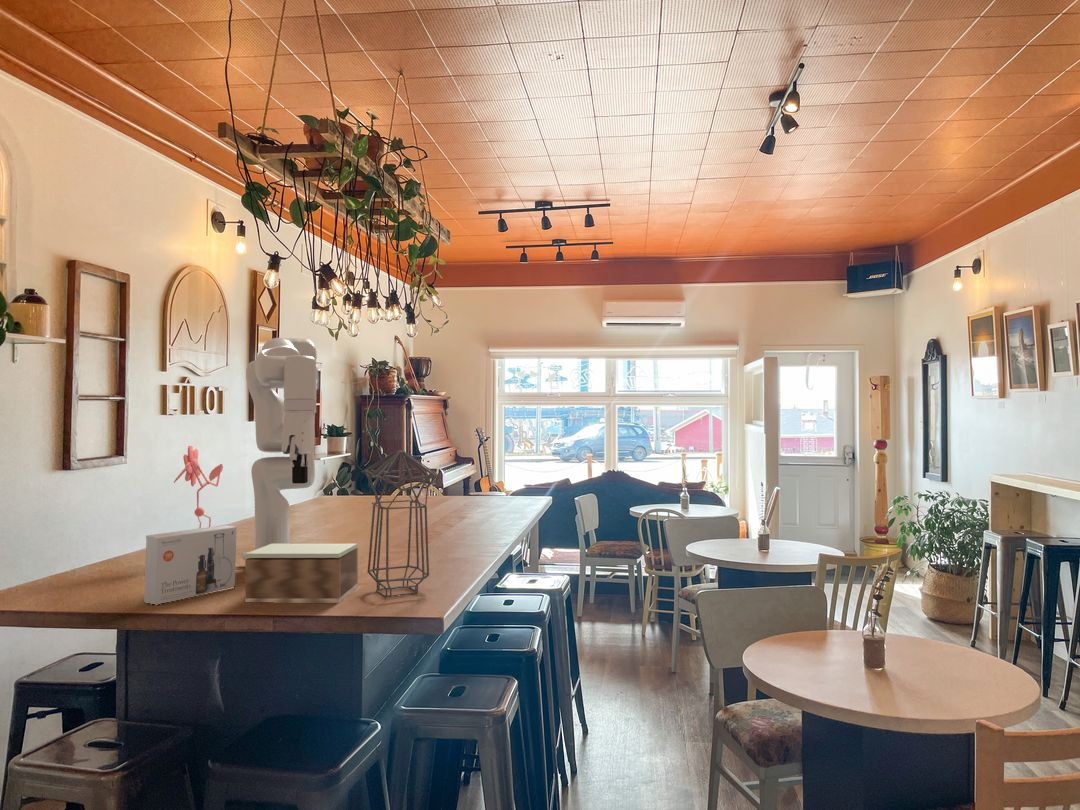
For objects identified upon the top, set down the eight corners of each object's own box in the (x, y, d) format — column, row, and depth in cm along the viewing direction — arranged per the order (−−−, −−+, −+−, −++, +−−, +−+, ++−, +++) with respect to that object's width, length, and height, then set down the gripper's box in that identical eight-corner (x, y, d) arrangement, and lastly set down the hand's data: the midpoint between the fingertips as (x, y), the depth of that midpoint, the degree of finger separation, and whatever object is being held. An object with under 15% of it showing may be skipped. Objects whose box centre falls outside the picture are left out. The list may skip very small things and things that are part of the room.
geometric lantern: (418, 582, 193) (420, 448, 193) (438, 597, 179) (441, 452, 179) (357, 588, 186) (360, 449, 186) (373, 604, 172) (376, 453, 172)
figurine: (230, 552, 237) (228, 443, 238) (201, 569, 212) (198, 446, 212) (180, 554, 236) (178, 444, 236) (145, 571, 210) (142, 448, 210)
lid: (245, 557, 173) (245, 553, 173) (271, 547, 189) (271, 543, 189) (339, 557, 172) (339, 553, 172) (357, 547, 188) (357, 543, 188)
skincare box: (156, 606, 170) (156, 537, 170) (143, 603, 173) (143, 535, 173) (237, 588, 188) (237, 525, 188) (223, 586, 190) (224, 524, 191)
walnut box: (245, 602, 173) (245, 559, 173) (271, 586, 189) (271, 547, 189) (339, 602, 172) (339, 559, 172) (357, 587, 188) (357, 547, 188)
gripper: (296, 406, 186) (295, 479, 186) (272, 406, 171) (272, 486, 171) (325, 406, 186) (325, 480, 186) (304, 407, 171) (304, 486, 171)
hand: (299, 482), depth 178 cm, fingers closed
